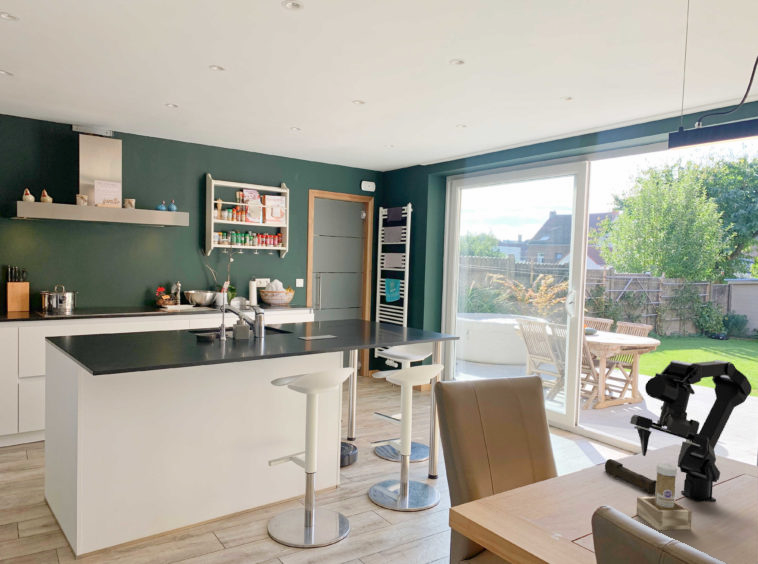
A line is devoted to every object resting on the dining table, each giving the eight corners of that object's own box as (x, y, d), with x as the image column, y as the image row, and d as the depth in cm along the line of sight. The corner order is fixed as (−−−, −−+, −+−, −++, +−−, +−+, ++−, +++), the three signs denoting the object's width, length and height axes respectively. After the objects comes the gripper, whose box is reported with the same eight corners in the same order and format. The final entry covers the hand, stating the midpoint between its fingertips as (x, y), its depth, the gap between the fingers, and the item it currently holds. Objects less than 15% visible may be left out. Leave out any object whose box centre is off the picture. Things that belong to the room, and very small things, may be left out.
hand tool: (659, 493, 161) (660, 478, 161) (649, 495, 159) (650, 479, 159) (611, 470, 179) (612, 456, 178) (601, 471, 177) (602, 457, 177)
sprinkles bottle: (660, 521, 140) (663, 468, 139) (650, 513, 144) (653, 462, 144) (677, 521, 140) (680, 469, 140) (666, 513, 145) (669, 462, 144)
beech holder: (667, 513, 147) (668, 496, 147) (690, 529, 138) (692, 511, 138) (636, 513, 146) (637, 497, 146) (658, 529, 137) (659, 512, 137)
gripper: (649, 396, 146) (635, 454, 144) (724, 418, 142) (710, 478, 141) (636, 394, 157) (623, 448, 155) (705, 415, 153) (692, 471, 152)
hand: (661, 461), depth 150 cm, fingers open, 9 cm apart
